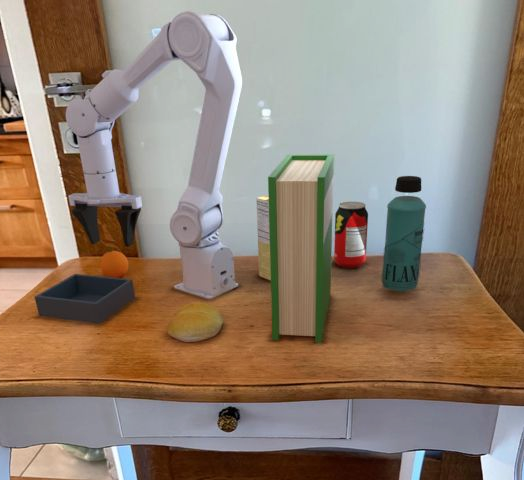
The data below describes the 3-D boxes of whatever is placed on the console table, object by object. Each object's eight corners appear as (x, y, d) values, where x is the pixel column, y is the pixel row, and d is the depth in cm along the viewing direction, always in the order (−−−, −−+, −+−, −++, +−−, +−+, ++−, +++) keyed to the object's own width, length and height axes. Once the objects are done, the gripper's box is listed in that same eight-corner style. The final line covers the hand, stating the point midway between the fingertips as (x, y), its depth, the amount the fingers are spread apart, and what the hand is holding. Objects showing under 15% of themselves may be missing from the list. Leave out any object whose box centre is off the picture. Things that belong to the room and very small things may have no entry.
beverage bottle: (376, 297, 97) (384, 180, 87) (384, 283, 102) (392, 172, 93) (414, 301, 94) (427, 181, 85) (420, 287, 100) (432, 173, 90)
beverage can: (364, 258, 115) (367, 200, 109) (366, 269, 109) (369, 208, 103) (333, 259, 115) (335, 201, 110) (334, 269, 110) (336, 209, 104)
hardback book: (321, 342, 82) (324, 177, 71) (272, 339, 84) (268, 177, 72) (330, 296, 98) (334, 154, 86) (288, 295, 99) (287, 154, 88)
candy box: (292, 265, 113) (291, 189, 105) (306, 270, 110) (306, 192, 102) (258, 276, 108) (254, 197, 100) (272, 282, 105) (269, 200, 98)
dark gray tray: (135, 299, 100) (132, 279, 98) (100, 325, 90) (96, 303, 89) (78, 292, 103) (74, 273, 102) (39, 317, 94) (34, 296, 92)
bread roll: (162, 343, 84) (158, 319, 82) (180, 318, 92) (177, 295, 90) (214, 345, 83) (212, 321, 81) (228, 320, 90) (226, 297, 88)
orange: (136, 274, 110) (129, 246, 108) (115, 283, 106) (107, 255, 104) (120, 271, 113) (113, 244, 111) (98, 280, 110) (90, 253, 107)
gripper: (52, 174, 99) (68, 247, 106) (122, 176, 95) (134, 252, 101) (76, 167, 105) (89, 237, 111) (143, 168, 101) (153, 241, 107)
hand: (112, 244), depth 107 cm, fingers open, 7 cm apart
